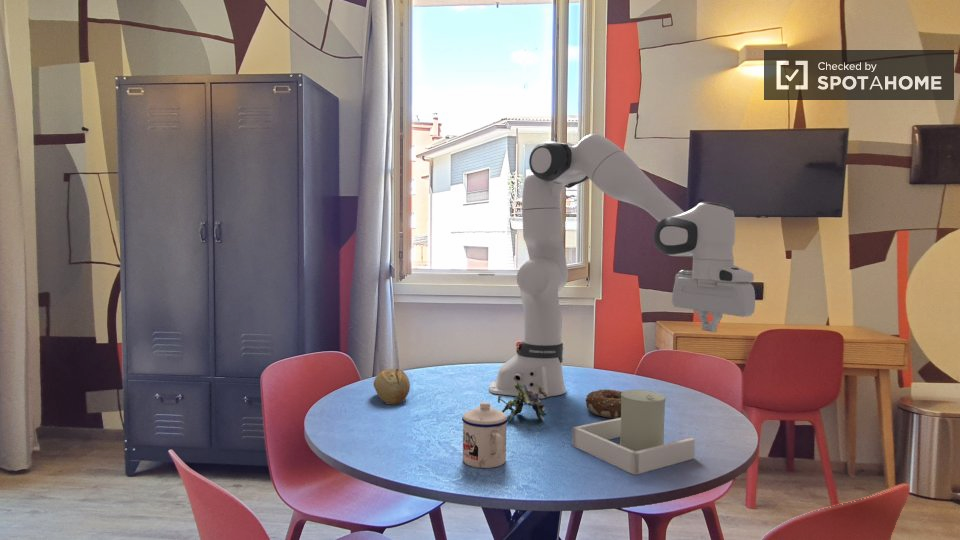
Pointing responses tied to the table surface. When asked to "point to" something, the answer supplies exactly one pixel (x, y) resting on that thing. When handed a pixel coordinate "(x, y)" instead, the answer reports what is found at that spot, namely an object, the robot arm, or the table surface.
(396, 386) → the bread roll
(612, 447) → the tray
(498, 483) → the table surface
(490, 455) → the teacup with lid
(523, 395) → the passion flower
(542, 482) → the table surface
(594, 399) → the donut
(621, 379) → the table surface
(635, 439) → the can
